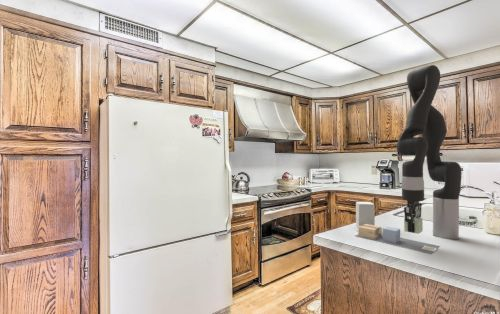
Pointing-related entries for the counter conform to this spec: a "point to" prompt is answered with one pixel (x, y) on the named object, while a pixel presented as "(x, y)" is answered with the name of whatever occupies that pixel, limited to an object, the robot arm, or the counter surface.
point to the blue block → (391, 234)
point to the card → (429, 248)
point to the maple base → (370, 231)
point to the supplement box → (365, 213)
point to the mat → (405, 244)
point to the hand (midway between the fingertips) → (413, 230)
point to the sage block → (417, 225)
